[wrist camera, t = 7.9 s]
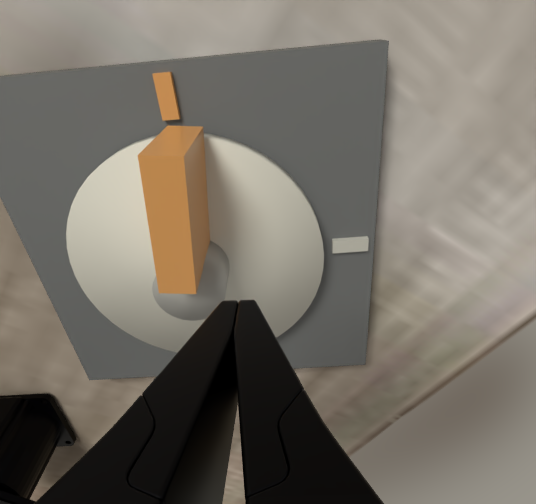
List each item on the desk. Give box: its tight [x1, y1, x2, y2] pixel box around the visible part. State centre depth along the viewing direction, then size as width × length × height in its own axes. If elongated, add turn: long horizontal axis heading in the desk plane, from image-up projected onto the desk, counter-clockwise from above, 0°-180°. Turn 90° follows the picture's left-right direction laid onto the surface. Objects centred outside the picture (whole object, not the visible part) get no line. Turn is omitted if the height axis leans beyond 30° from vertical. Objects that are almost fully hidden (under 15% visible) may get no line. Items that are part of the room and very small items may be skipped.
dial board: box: [0, 40, 389, 380], centre depth 22 cm, size 20×20×2 cm
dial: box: [66, 126, 324, 352], centre depth 19 cm, size 14×14×6 cm
